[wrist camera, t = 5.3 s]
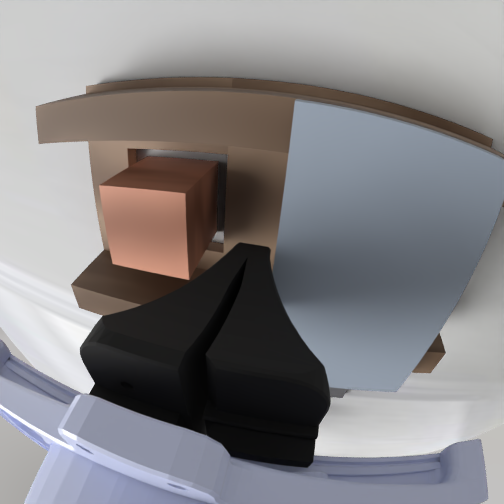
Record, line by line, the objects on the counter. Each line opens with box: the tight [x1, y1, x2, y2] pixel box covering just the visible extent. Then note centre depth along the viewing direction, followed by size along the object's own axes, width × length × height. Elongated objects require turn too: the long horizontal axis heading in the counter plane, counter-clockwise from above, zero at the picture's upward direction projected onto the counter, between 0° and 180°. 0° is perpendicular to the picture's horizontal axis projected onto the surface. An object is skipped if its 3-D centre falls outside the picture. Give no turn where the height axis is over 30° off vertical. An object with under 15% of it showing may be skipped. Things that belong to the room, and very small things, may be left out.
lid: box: [272, 99, 504, 392], centre depth 11 cm, size 13×8×1 cm, turn 176°
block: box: [99, 156, 219, 280], centre depth 16 cm, size 4×4×5 cm
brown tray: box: [36, 77, 504, 373], centre depth 15 cm, size 14×23×5 cm, turn 86°
